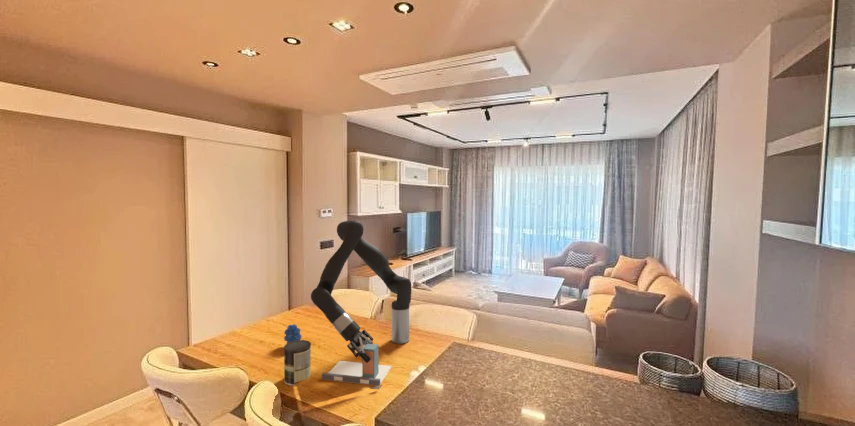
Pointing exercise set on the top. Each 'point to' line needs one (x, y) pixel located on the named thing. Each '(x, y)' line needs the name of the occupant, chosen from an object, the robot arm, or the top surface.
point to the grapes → (292, 333)
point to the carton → (371, 361)
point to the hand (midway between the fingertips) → (372, 356)
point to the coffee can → (297, 361)
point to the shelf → (355, 374)
